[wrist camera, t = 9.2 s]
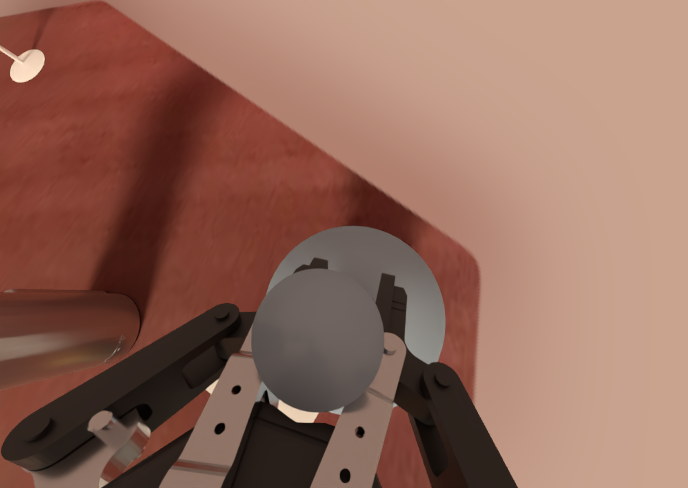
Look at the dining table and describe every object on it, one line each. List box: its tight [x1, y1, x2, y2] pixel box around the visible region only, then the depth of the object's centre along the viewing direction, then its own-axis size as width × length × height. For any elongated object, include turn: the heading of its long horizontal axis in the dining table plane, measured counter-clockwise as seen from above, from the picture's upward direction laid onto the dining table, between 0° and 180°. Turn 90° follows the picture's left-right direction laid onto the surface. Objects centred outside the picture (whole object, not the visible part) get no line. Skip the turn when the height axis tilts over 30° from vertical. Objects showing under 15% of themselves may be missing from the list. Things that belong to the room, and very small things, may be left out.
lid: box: [251, 226, 445, 415], centre depth 12 cm, size 12×12×11 cm
